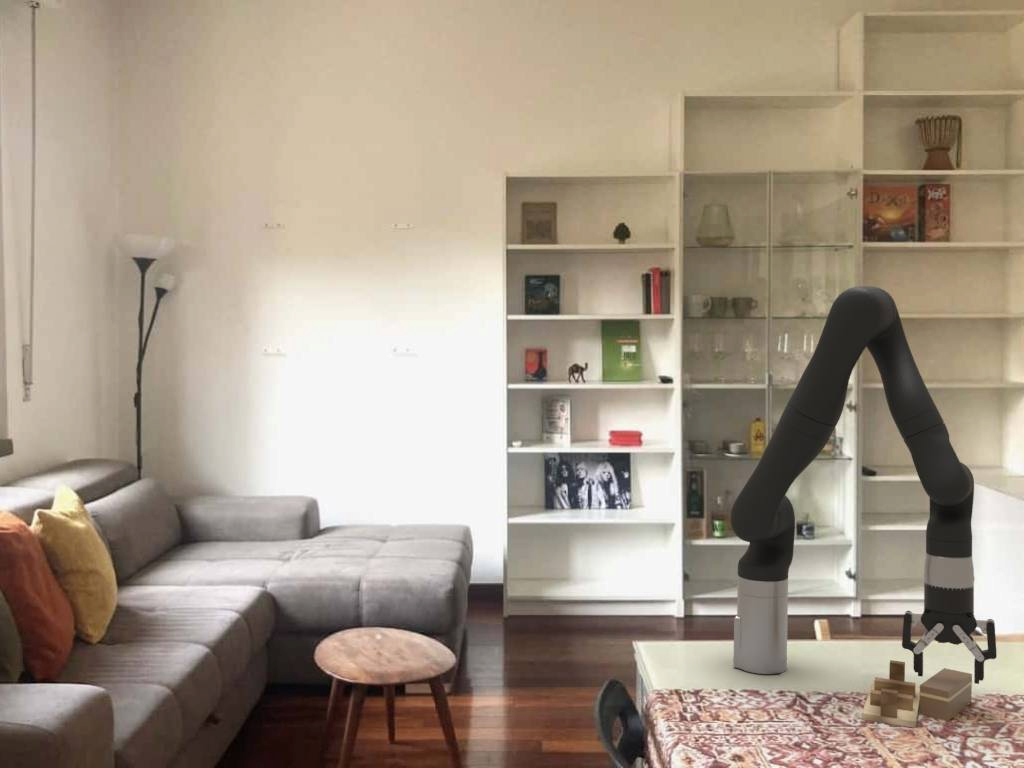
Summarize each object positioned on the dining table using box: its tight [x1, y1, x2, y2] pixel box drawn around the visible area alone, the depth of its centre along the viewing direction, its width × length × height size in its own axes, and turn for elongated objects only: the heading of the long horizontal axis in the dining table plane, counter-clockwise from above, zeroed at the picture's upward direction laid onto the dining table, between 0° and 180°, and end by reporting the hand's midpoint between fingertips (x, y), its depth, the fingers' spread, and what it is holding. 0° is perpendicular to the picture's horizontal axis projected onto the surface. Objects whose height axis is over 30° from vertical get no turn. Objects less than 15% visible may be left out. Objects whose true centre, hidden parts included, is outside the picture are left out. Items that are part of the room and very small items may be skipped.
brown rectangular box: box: [918, 667, 973, 722], centre depth 162 cm, size 5×12×5 cm, turn 138°
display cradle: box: [861, 660, 920, 729], centre depth 163 cm, size 8×18×5 cm, turn 154°
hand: (948, 678), depth 161 cm, fingers open, 8 cm apart
